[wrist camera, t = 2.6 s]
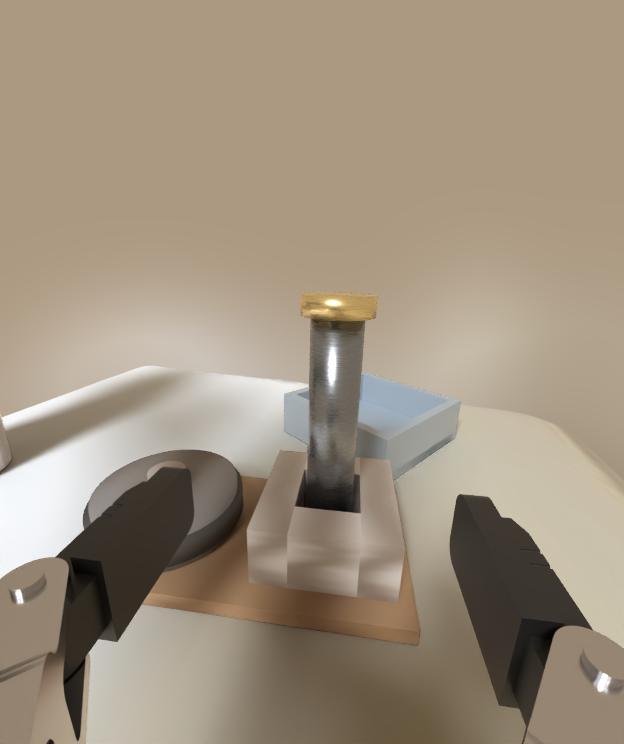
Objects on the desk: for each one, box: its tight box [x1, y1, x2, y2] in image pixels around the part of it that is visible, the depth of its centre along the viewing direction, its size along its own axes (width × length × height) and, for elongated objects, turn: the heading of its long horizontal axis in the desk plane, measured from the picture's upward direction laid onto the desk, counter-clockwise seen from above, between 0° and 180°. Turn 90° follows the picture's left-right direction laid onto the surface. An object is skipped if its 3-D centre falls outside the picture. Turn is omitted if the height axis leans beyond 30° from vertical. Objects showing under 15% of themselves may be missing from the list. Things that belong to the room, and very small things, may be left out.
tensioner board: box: [83, 450, 420, 645], centre depth 24 cm, size 23×12×5 cm, turn 83°
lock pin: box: [301, 292, 378, 513], centre depth 22 cm, size 4×4×17 cm
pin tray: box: [284, 372, 461, 480], centre depth 41 cm, size 15×15×5 cm
